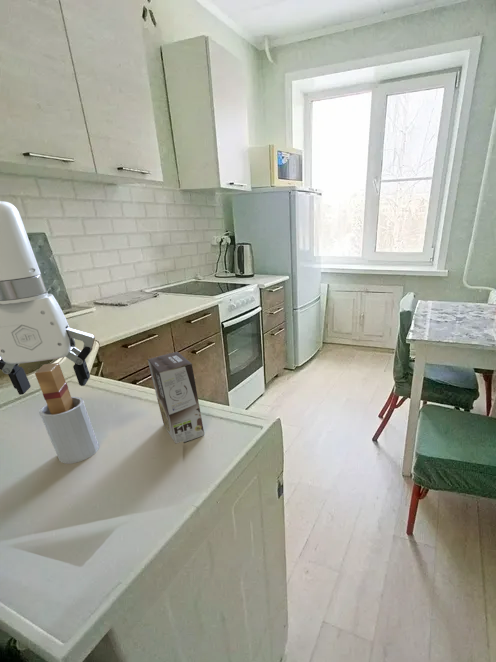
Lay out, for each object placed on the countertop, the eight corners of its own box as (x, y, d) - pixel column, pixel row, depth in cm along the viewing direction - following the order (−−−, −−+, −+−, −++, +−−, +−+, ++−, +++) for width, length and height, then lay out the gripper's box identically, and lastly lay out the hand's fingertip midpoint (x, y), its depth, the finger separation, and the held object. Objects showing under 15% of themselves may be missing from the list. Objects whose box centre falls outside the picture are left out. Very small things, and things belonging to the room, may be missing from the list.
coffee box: (206, 435, 73) (193, 363, 66) (175, 446, 70) (158, 372, 63) (191, 416, 80) (178, 350, 73) (163, 426, 77) (146, 357, 70)
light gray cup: (50, 463, 67) (29, 413, 62) (80, 441, 73) (62, 395, 68) (80, 468, 65) (60, 417, 61) (107, 446, 71) (91, 398, 67)
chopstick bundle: (68, 459, 67) (34, 373, 59) (75, 447, 71) (43, 364, 63) (83, 456, 68) (51, 371, 60) (89, 444, 71) (59, 362, 63)
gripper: (-62, 300, 50) (-10, 404, 58) (70, 288, 54) (102, 388, 61) (-32, 290, 57) (10, 385, 64) (83, 280, 60) (111, 371, 68)
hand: (55, 386), depth 63 cm, fingers open, 9 cm apart
